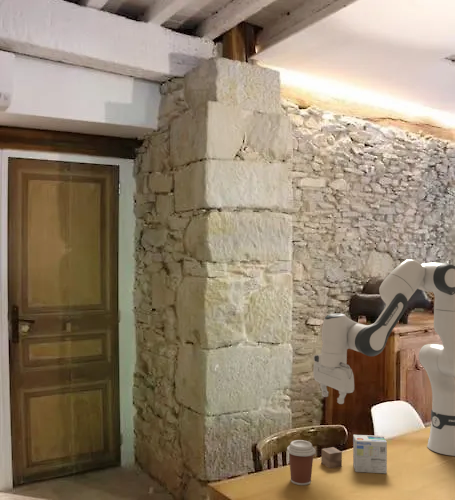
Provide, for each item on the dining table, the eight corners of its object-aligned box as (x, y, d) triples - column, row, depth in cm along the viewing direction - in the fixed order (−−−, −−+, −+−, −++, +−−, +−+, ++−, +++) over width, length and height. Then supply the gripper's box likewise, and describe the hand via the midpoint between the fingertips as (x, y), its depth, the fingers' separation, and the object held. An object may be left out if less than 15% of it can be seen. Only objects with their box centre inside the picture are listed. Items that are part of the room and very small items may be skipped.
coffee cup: (319, 486, 166) (319, 448, 167) (291, 487, 165) (291, 449, 165) (309, 474, 175) (310, 438, 176) (283, 475, 174) (283, 439, 174)
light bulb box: (383, 466, 183) (383, 435, 183) (387, 474, 177) (387, 441, 177) (352, 464, 184) (352, 433, 184) (354, 472, 178) (355, 440, 178)
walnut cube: (333, 461, 187) (333, 447, 187) (341, 466, 183) (341, 452, 183) (321, 463, 185) (321, 448, 185) (329, 468, 181) (329, 453, 181)
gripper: (359, 365, 176) (358, 407, 176) (325, 354, 195) (324, 392, 195) (343, 366, 174) (342, 408, 173) (310, 355, 193) (309, 393, 192)
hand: (332, 399), depth 184 cm, fingers open, 8 cm apart
